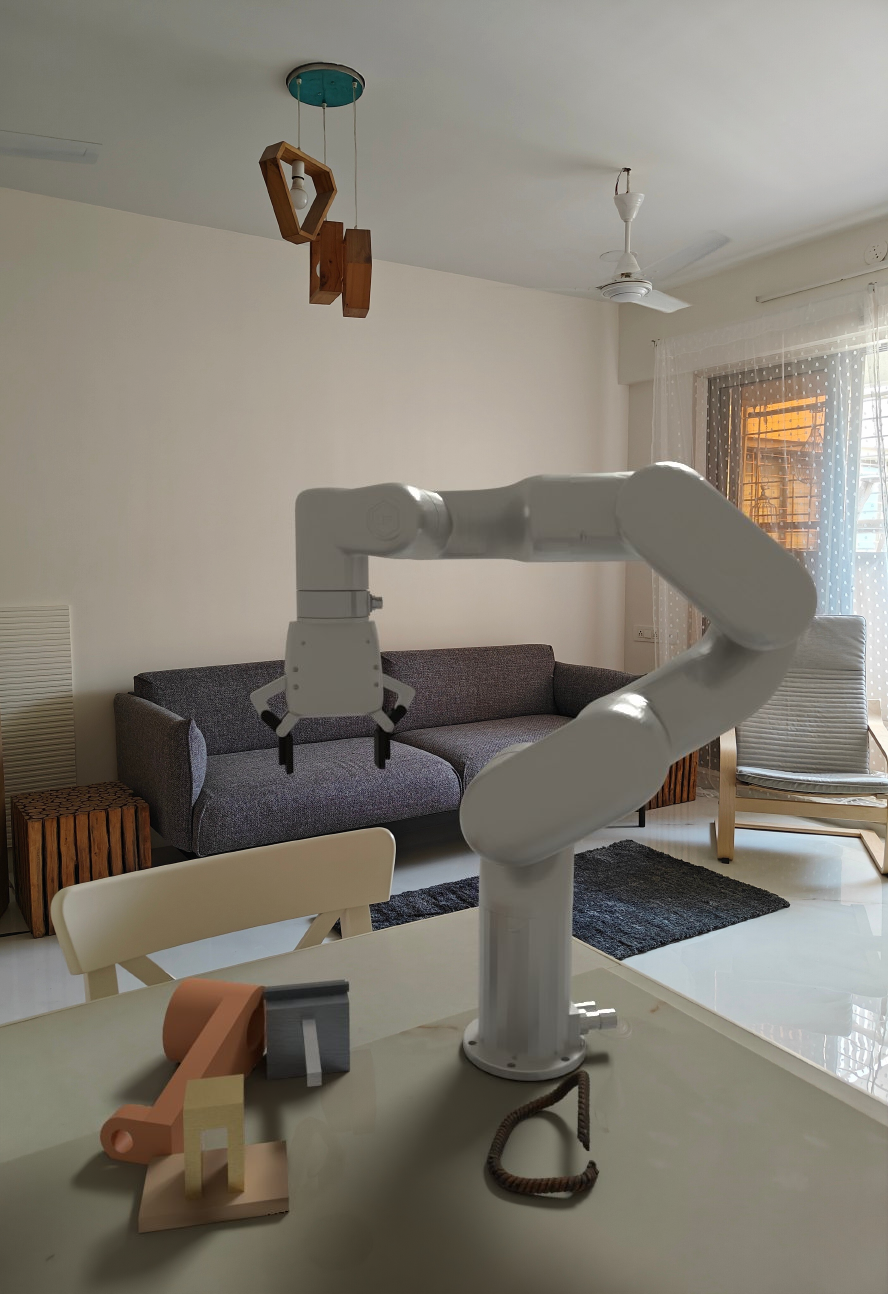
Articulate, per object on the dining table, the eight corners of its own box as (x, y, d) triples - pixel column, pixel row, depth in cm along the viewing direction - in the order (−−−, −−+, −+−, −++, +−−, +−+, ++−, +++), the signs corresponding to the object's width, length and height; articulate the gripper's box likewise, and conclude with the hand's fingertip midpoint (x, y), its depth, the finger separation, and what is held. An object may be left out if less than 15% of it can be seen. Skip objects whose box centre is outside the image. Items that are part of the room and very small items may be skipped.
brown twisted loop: (570, 1173, 67) (457, 1125, 72) (570, 1235, 68) (458, 1183, 73) (635, 1075, 78) (533, 1039, 83) (634, 1129, 79) (533, 1090, 84)
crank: (203, 1036, 95) (201, 964, 94) (272, 1045, 93) (271, 972, 92) (87, 1156, 75) (84, 1066, 75) (172, 1171, 73) (170, 1079, 73)
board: (286, 1153, 75) (286, 1140, 75) (289, 1211, 68) (288, 1196, 68) (150, 1171, 73) (149, 1157, 73) (138, 1233, 66) (138, 1217, 66)
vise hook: (346, 1038, 94) (345, 967, 93) (363, 1132, 78) (362, 1047, 77) (264, 1047, 92) (263, 974, 91) (265, 1145, 76) (264, 1057, 76)
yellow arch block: (245, 1158, 73) (243, 1074, 72) (244, 1191, 69) (242, 1102, 68) (189, 1165, 72) (187, 1080, 71) (185, 1199, 68) (183, 1109, 67)
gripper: (407, 605, 99) (408, 758, 100) (247, 607, 95) (250, 766, 96) (421, 608, 92) (422, 772, 93) (249, 610, 88) (252, 782, 89)
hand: (335, 769), depth 95 cm, fingers open, 9 cm apart
